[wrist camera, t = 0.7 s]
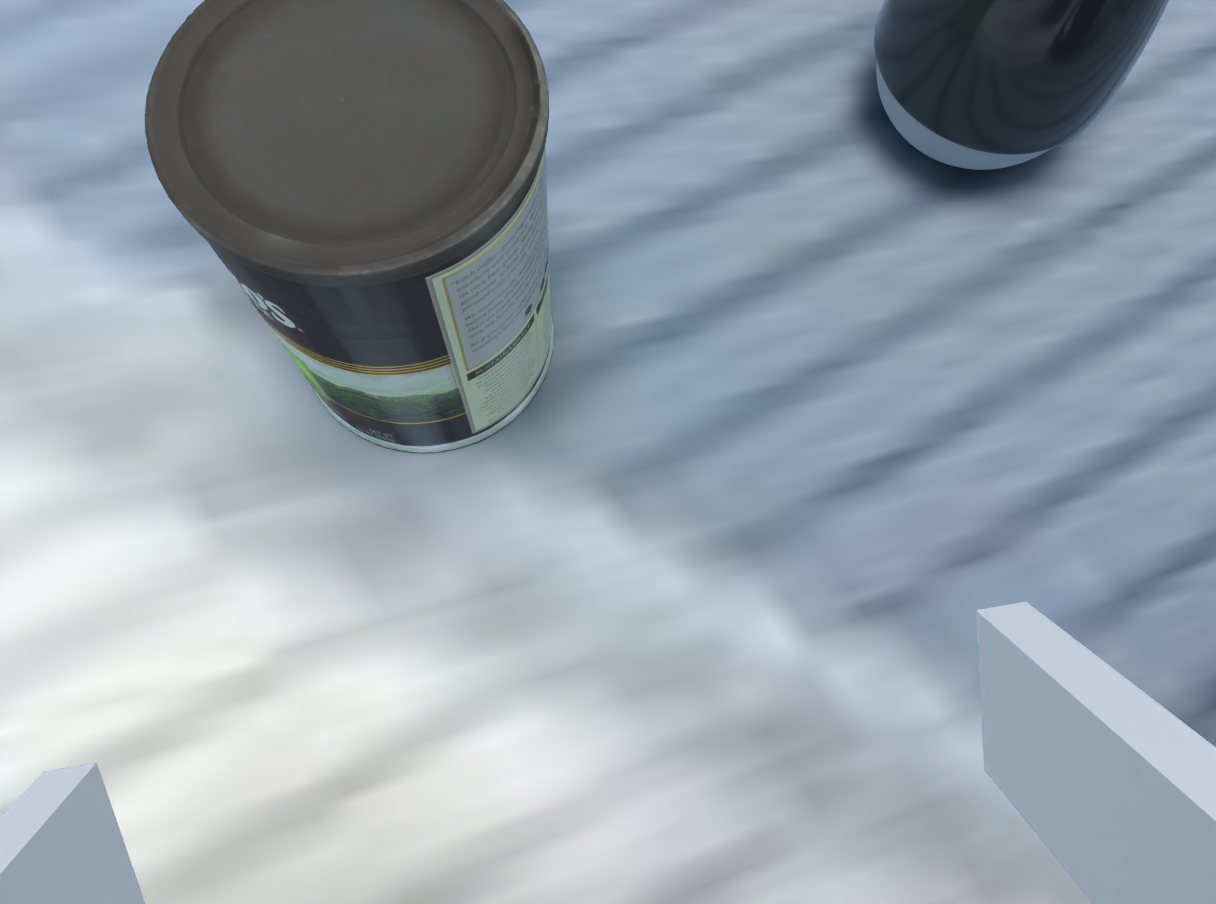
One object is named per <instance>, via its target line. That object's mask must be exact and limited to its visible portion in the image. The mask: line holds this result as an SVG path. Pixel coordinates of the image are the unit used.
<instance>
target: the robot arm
mask: <svg viewBox="0 0 1216 904" xmlns="http://www.w3.org/2000/svg"><path fill="white" fill-rule="evenodd" d="M976 621H977V640H978V659H979V678H980V696H981V715H982V734H983V753H984V770H985V771H986V773H987V774H988V775H989V776H990V778H991V779H992V780H993V781H994V783H995V784H996V785H997V786H998V787H999V789H1000V790H1001V791H1002V792H1003V794H1004V795H1005V796H1006V797H1007V799H1008V800H1009V801H1010V802H1011V803H1012V805H1013V806H1014V807H1015V808H1016V810H1017V811H1018V812H1019V813H1020V815H1021V816H1022V817H1023V818H1024V819H1025V821H1026V822H1027V823H1028V824H1029V826H1030V827H1031V828H1032V829H1033V831H1034V832H1035V833H1036V834H1037V835H1038V837H1039V838H1040V839H1041V840H1042V842H1043V843H1044V844H1045V845H1046V847H1047V848H1048V849H1049V850H1050V851H1051V853H1052V854H1053V855H1054V856H1055V858H1056V859H1057V860H1058V861H1059V863H1060V864H1061V865H1062V866H1063V867H1064V869H1065V870H1066V871H1067V872H1068V874H1069V875H1070V876H1071V877H1072V879H1073V880H1074V881H1075V882H1076V883H1077V885H1078V886H1079V887H1080V888H1081V890H1082V891H1083V892H1084V893H1085V895H1086V896H1087V897H1088V898H1089V899H1090V901H1091V902H1092V903H1093V904H1216V747H1214V746H1213V745H1212V744H1211V743H1209V742H1208V741H1207V740H1205V739H1204V738H1203V737H1201V736H1200V735H1199V734H1198V733H1196V732H1195V731H1194V730H1192V729H1191V728H1190V727H1188V726H1187V725H1186V724H1185V723H1183V722H1182V721H1181V720H1179V719H1178V718H1177V717H1175V716H1174V715H1173V714H1172V713H1170V712H1169V711H1168V710H1166V709H1165V708H1164V707H1162V706H1161V705H1160V704H1158V703H1157V702H1156V701H1155V700H1153V699H1152V698H1151V697H1149V696H1148V695H1147V694H1145V693H1144V692H1143V691H1142V690H1140V689H1139V688H1138V687H1136V686H1135V685H1134V684H1132V683H1131V682H1130V681H1129V680H1127V679H1126V678H1125V677H1123V676H1122V675H1121V674H1119V673H1118V672H1117V671H1116V670H1114V669H1113V668H1112V667H1110V666H1109V665H1108V664H1106V663H1105V662H1104V661H1103V660H1101V659H1100V658H1099V657H1097V656H1096V655H1095V654H1093V653H1092V652H1091V651H1090V650H1088V649H1087V648H1086V647H1084V646H1083V645H1082V644H1080V643H1079V642H1078V641H1077V640H1075V639H1074V638H1073V637H1071V636H1070V635H1069V634H1067V633H1066V632H1065V631H1063V630H1062V629H1061V628H1060V627H1058V626H1057V625H1056V624H1054V623H1053V622H1052V621H1050V620H1049V619H1048V618H1047V617H1045V616H1044V615H1043V614H1041V613H1040V612H1039V611H1037V610H1036V609H1035V608H1034V607H1032V606H1031V605H1030V604H1028V603H1027V602H1021V603H1015V604H1009V605H1003V606H998V607H992V608H986V609H980V610H976ZM0 904H145V902H144V899H143V896H142V893H141V890H140V887H139V884H138V881H137V878H136V876H135V873H134V870H133V867H132V864H131V861H130V858H129V855H128V852H127V850H126V847H125V844H124V841H123V838H122V835H121V832H120V829H119V826H118V824H117V821H116V818H115V815H114V812H113V809H112V806H111V803H110V800H109V797H108V795H107V792H106V789H105V786H104V783H103V780H102V777H101V774H100V771H99V769H98V766H97V763H92V764H86V765H80V766H74V767H68V768H63V769H57V770H51V771H45V772H43V773H42V774H41V775H40V776H39V777H38V778H37V779H36V781H35V782H34V783H33V784H32V785H31V786H30V787H29V788H28V789H27V790H26V791H25V792H24V793H23V794H22V795H21V796H20V797H19V798H18V800H17V801H16V802H15V803H14V804H13V805H12V806H11V807H10V808H9V809H8V810H7V811H6V812H5V813H4V814H3V815H2V816H1V817H0Z"/></svg>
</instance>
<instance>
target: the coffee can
mask: <svg viewBox="0 0 1216 904" xmlns="http://www.w3.org/2000/svg"><path fill="white" fill-rule="evenodd" d="M548 119H549V92H548V86H547V79H546V74H545V69H544V66H543V63H542V60H541V57H540V54H539V52H538V49H537V47H536V45H535V43H534V41H533V39H532V37H531V35H530V33H529V31H528V30H527V28H526V27H525V25H524V24H523V23H522V21H521V20H520V18H519V17H518V16H517V15H516V13H515V12H514V11H513V10H512V9H511V8H510V7H509V6H508V5H507V4H506V3H505V2H504V1H503V0H205V1H204V2H203V3H201V4H200V5H199V6H198V7H197V8H196V9H195V10H194V12H193V13H192V14H191V15H189V16H188V17H187V19H186V20H185V22H184V23H183V24H182V25H181V27H180V28H179V29H178V30H177V31H176V33H175V34H174V35H173V37H172V38H171V40H170V42H169V43H168V45H167V47H166V49H165V51H164V52H163V54H162V56H161V58H160V60H159V62H158V64H157V67H156V69H155V71H154V73H153V76H152V80H151V82H150V85H149V89H148V93H147V98H146V109H145V132H146V138H147V144H148V149H149V153H150V156H151V160H152V163H153V166H154V168H155V171H156V174H157V176H158V179H159V180H160V182H161V184H162V186H163V187H164V189H165V191H166V193H167V195H168V197H169V198H170V200H171V201H172V202H173V204H174V205H175V206H176V207H177V209H178V210H179V211H180V213H181V214H182V215H183V216H184V218H185V219H186V220H187V221H188V222H189V223H190V224H191V225H192V226H193V227H194V228H195V229H196V231H197V232H198V233H199V234H200V235H201V236H202V237H204V238H205V239H206V240H207V241H208V243H209V244H210V245H211V247H212V248H213V250H214V251H215V253H216V254H217V255H218V257H219V258H220V259H221V260H222V262H223V263H224V264H225V266H226V267H227V269H228V270H229V272H230V273H231V275H232V276H233V277H234V279H235V280H236V282H237V283H238V284H239V286H240V287H241V289H242V290H243V291H244V293H245V294H246V295H247V297H248V298H249V300H250V301H251V302H252V303H253V305H254V306H255V308H256V309H257V310H258V312H259V313H260V314H261V316H262V317H263V318H264V320H265V321H266V322H267V324H268V325H269V327H270V328H271V329H272V331H273V332H274V334H275V335H276V336H277V338H278V339H279V340H280V342H281V343H282V344H283V346H284V347H285V349H286V350H287V351H288V353H289V354H290V355H291V357H292V358H293V359H294V361H295V362H296V364H297V365H298V367H299V368H300V370H301V371H302V372H303V374H304V375H305V377H306V378H307V379H308V381H309V382H310V383H311V385H312V386H313V389H314V391H315V393H316V395H317V396H318V398H319V399H320V401H321V402H322V403H323V405H324V406H325V407H326V409H327V410H328V411H329V412H330V413H331V414H332V415H333V416H334V417H335V418H336V419H337V420H338V421H339V422H340V423H341V424H343V425H344V426H345V427H346V428H348V429H349V430H350V431H352V432H354V433H355V434H357V435H359V436H360V437H362V438H364V439H366V440H368V441H370V442H373V443H375V444H376V445H380V446H383V447H386V448H391V449H395V450H400V451H406V452H421V453H424V452H440V451H446V450H452V449H457V448H460V447H464V446H467V445H470V444H473V443H476V442H478V441H480V440H483V439H485V438H487V437H489V436H491V435H492V434H494V433H496V432H497V431H499V430H500V429H502V428H503V427H504V426H506V425H507V424H509V423H510V422H511V421H512V420H513V419H514V418H516V417H517V416H518V415H519V414H520V413H521V412H522V411H523V410H524V409H525V407H526V406H527V405H528V404H529V402H530V401H531V400H532V398H533V397H534V396H535V394H536V393H537V391H538V389H539V388H540V386H541V384H542V382H543V380H544V378H545V377H546V374H547V371H548V368H549V365H550V360H551V356H552V351H553V342H554V325H553V319H552V314H551V300H550V273H549V245H548V216H547V187H546V156H545V142H546V136H547V130H548Z"/></svg>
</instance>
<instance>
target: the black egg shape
mask: <svg viewBox="0 0 1216 904" xmlns="http://www.w3.org/2000/svg"><path fill="white" fill-rule="evenodd" d="M1168 2H1169V0H885V1H884V3H883V5H882V8H881V10H880V13H879V16H878V19H877V23H876V27H875V35H874V48H875V56H876V76H877V84H878V90H879V94H880V98H881V101H882V104H883V106H884V109H885V111H886V113H887V115H888V117H889V119H890V120H891V122H892V123H893V125H894V126H895V128H896V129H897V130H898V132H899V133H900V134H901V135H902V136H903V137H904V138H905V139H906V140H907V141H908V142H909V143H910V144H911V145H912V146H914V147H915V148H916V149H918V150H919V151H920V152H922V153H924V154H925V155H927V156H929V157H931V158H933V159H935V160H937V161H940V162H942V163H945V164H948V165H951V166H955V167H959V168H966V169H976V170H989V169H998V168H1004V167H1009V166H1013V165H1016V164H1020V163H1023V162H1026V161H1028V160H1030V159H1033V158H1035V157H1037V156H1039V155H1041V154H1043V153H1045V152H1047V151H1049V150H1050V149H1052V148H1055V147H1058V146H1060V145H1063V144H1065V143H1067V142H1069V141H1071V140H1072V139H1074V138H1076V137H1077V136H1079V135H1080V134H1081V133H1083V132H1084V131H1085V130H1086V129H1087V128H1088V127H1089V126H1091V125H1092V123H1093V122H1094V121H1095V120H1096V119H1097V118H1098V117H1099V116H1100V114H1101V113H1102V112H1103V111H1104V110H1105V108H1106V107H1107V106H1108V105H1109V103H1110V102H1111V101H1112V99H1113V98H1114V96H1115V95H1116V94H1117V92H1118V91H1119V89H1120V88H1121V86H1122V84H1123V83H1124V81H1125V80H1126V78H1127V76H1128V75H1129V73H1130V72H1131V70H1132V68H1133V67H1134V65H1135V63H1136V62H1137V60H1138V58H1139V57H1140V55H1141V53H1142V52H1143V50H1144V48H1145V46H1146V45H1147V43H1148V41H1149V39H1150V37H1151V36H1152V34H1153V32H1154V30H1155V28H1156V26H1157V25H1158V23H1159V21H1160V19H1161V17H1162V15H1163V13H1164V11H1165V8H1166V6H1167V4H1168Z"/></svg>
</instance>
